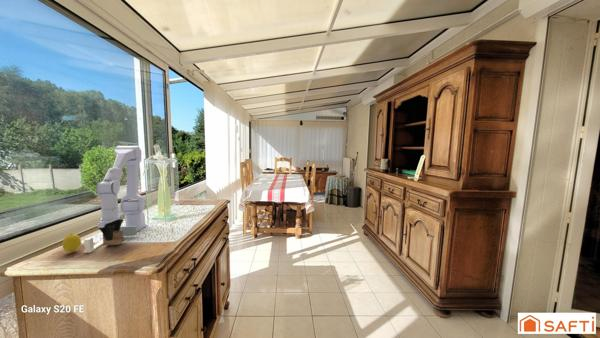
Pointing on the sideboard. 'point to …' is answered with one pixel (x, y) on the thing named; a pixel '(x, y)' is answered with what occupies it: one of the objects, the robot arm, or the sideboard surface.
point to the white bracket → (91, 245)
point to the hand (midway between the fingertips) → (112, 238)
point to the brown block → (115, 238)
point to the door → (129, 230)
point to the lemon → (71, 243)
